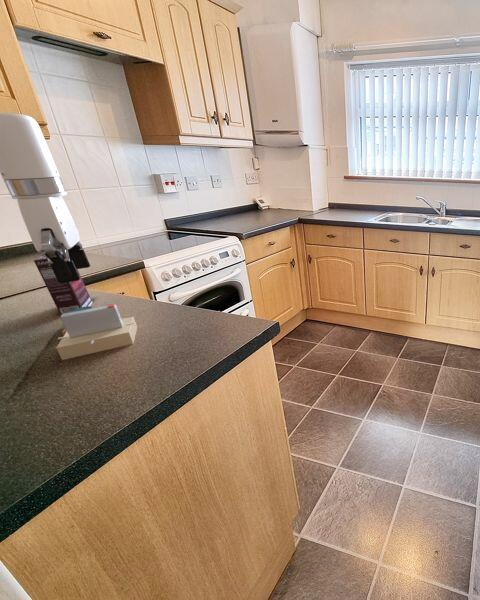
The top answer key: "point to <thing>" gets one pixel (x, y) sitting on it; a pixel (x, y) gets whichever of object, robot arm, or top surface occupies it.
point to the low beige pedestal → (97, 340)
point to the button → (83, 308)
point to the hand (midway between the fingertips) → (76, 274)
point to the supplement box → (63, 288)
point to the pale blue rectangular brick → (92, 320)
